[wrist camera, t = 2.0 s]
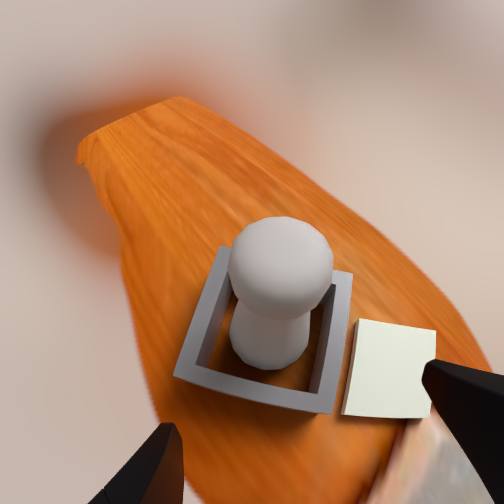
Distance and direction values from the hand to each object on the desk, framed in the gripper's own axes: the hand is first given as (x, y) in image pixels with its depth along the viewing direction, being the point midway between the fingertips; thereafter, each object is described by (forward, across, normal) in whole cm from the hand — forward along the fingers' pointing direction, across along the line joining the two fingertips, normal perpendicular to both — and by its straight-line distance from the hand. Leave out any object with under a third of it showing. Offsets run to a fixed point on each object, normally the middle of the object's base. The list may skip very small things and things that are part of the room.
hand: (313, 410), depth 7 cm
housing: (+13, 0, +5) cm, 14 cm away
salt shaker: (+13, 0, +5) cm, 14 cm away
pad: (+9, -10, +8) cm, 16 cm away
